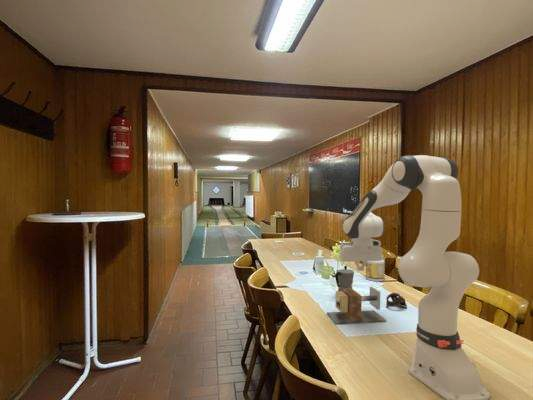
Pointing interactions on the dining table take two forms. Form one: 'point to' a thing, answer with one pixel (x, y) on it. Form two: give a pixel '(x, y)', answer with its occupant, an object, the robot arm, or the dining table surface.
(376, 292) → the shaft
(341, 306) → the tan flat block
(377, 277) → the supplement tub
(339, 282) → the coffeepot
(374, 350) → the dining table surface
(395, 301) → the dark openwork dome
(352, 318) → the bearing block
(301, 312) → the dining table surface
